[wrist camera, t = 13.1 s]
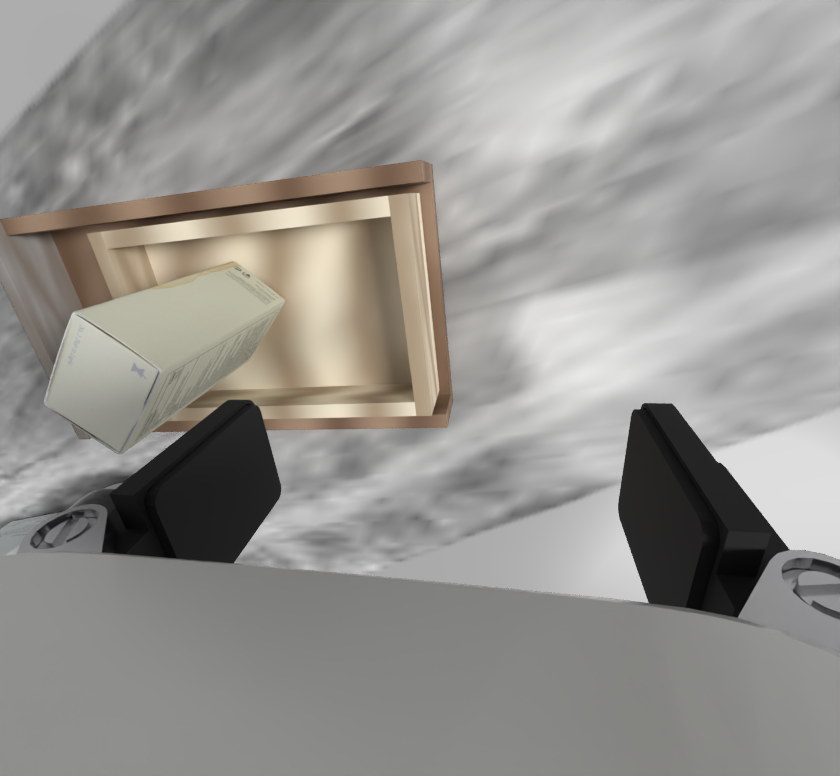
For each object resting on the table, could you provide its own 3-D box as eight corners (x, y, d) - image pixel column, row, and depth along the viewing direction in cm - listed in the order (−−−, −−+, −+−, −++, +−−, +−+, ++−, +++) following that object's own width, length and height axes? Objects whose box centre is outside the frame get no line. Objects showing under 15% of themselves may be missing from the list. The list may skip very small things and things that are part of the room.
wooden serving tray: (431, 164, 26) (418, 158, 21) (453, 401, 32) (445, 435, 28) (45, 217, 32) (-30, 221, 27) (128, 409, 38) (78, 439, 34)
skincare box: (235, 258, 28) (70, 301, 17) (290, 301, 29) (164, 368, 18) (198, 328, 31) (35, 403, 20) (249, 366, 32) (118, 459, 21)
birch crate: (419, 193, 26) (406, 193, 22) (439, 389, 31) (431, 415, 27) (136, 228, 30) (86, 233, 26) (196, 397, 35) (161, 421, 31)
